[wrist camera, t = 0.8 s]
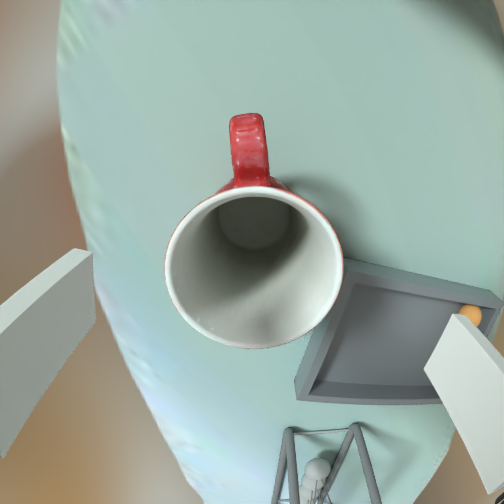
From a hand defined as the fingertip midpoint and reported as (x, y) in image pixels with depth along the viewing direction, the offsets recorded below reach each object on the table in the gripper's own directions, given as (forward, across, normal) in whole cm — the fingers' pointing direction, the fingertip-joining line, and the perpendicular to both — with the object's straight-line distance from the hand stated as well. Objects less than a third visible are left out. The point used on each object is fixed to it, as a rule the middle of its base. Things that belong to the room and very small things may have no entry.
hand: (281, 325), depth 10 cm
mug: (+19, -1, +1) cm, 19 cm away
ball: (+18, +26, -7) cm, 32 cm away
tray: (+19, +18, -12) cm, 29 cm away
